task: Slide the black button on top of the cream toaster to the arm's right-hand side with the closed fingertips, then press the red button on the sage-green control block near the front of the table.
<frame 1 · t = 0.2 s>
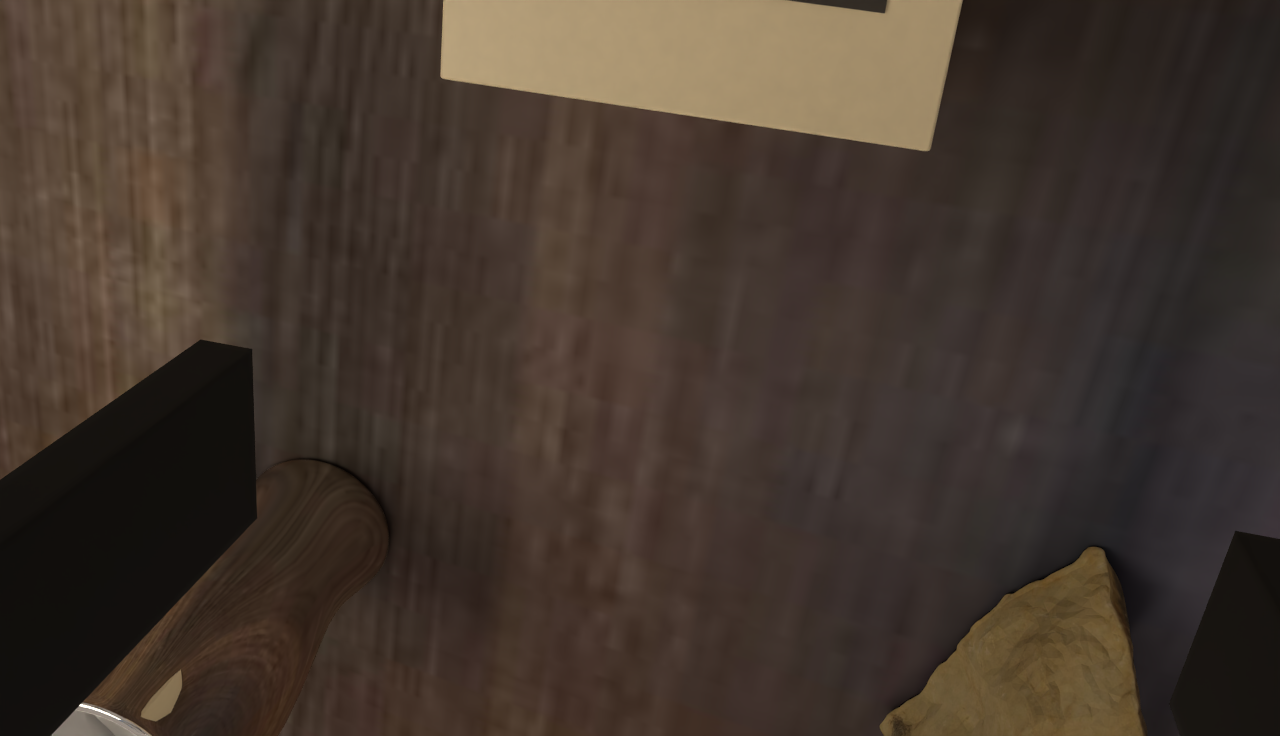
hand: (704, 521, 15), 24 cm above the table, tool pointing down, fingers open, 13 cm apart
beer glass: (321, 522, 47), on the table
rock: (997, 657, 43), on the table
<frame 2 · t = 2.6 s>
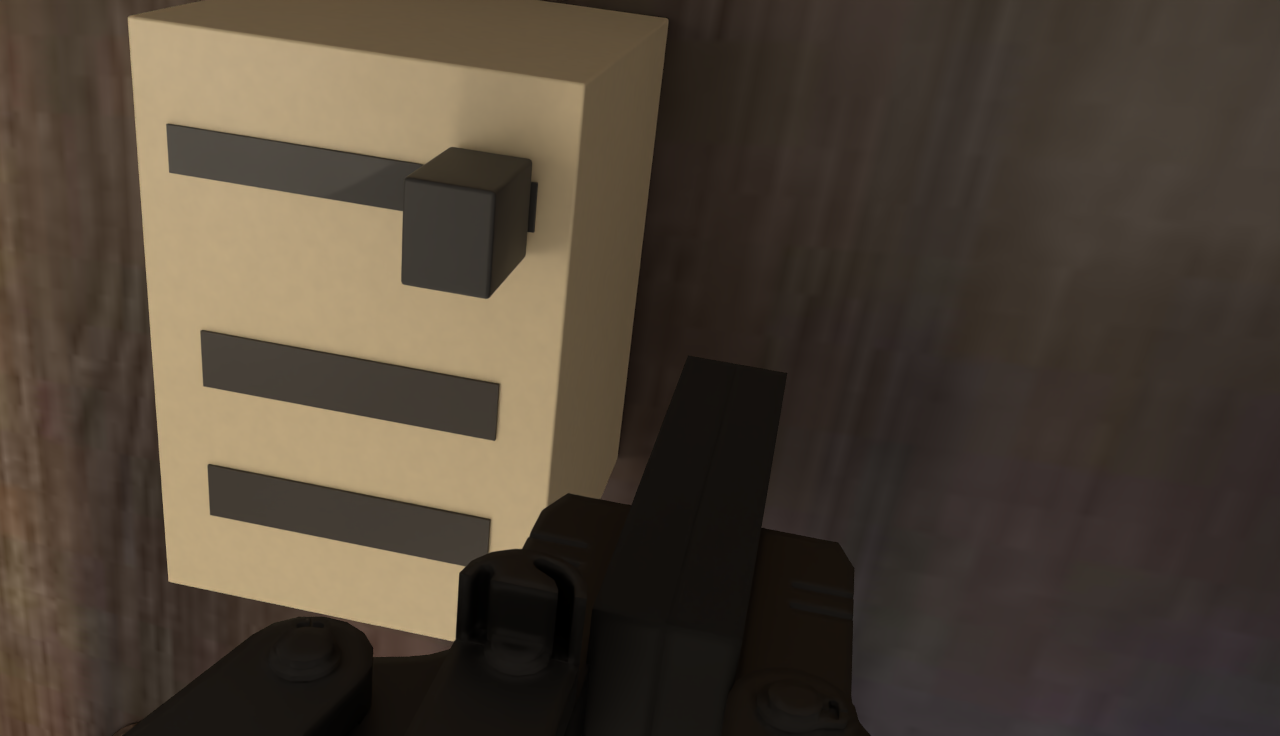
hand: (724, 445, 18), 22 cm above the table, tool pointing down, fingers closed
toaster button: (468, 220, 25), point 14 cm above the table, slide at 0.0 cm
toaster: (487, 231, 40), on the table
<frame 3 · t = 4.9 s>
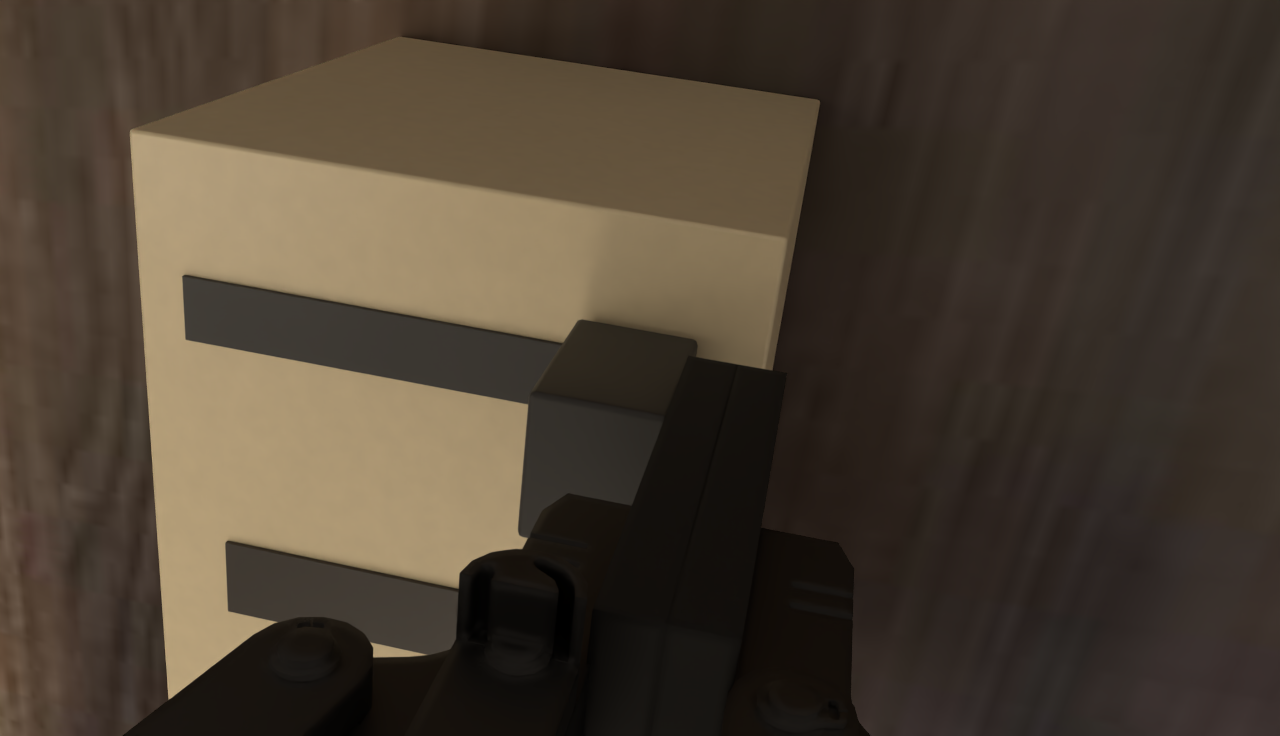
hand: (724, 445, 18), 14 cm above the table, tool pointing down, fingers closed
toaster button: (611, 433, 18), point 14 cm above the table, slide at 0.1 cm, touching gripper
toaster: (575, 354, 32), on the table
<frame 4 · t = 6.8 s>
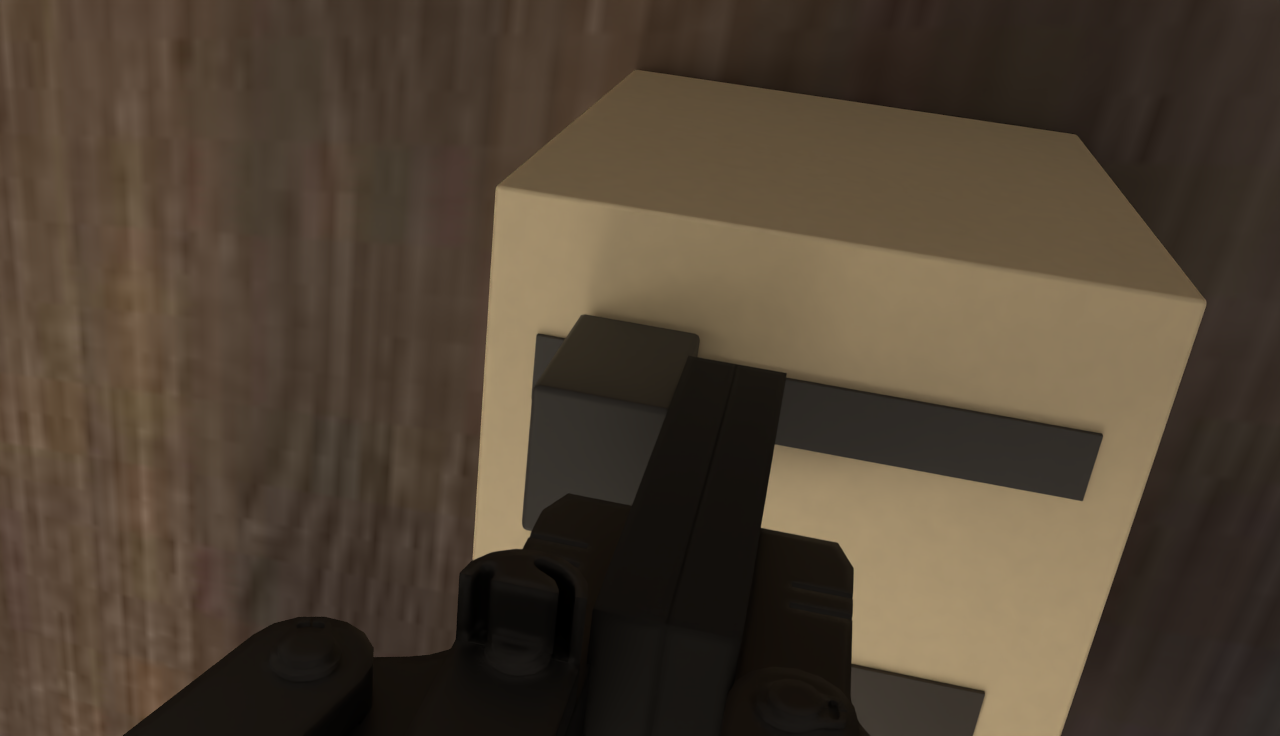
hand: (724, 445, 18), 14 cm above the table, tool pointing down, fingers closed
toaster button: (614, 427, 18), point 14 cm above the table, slide at 6.4 cm, touching gripper
toaster: (796, 390, 32), on the table
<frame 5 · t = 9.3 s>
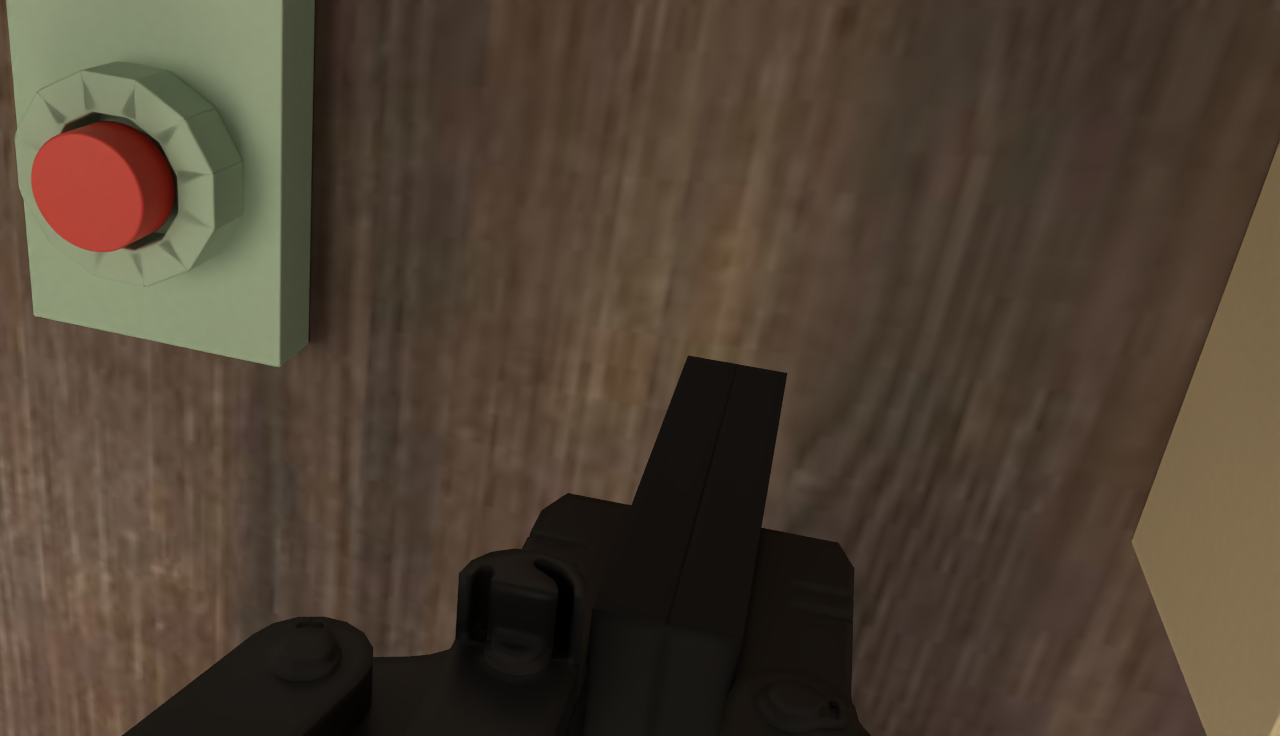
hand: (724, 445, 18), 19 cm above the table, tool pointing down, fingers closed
control block: (185, 154, 38), on the table
red button: (104, 186, 34), point 4 cm above the table, slide at 0.1 cm
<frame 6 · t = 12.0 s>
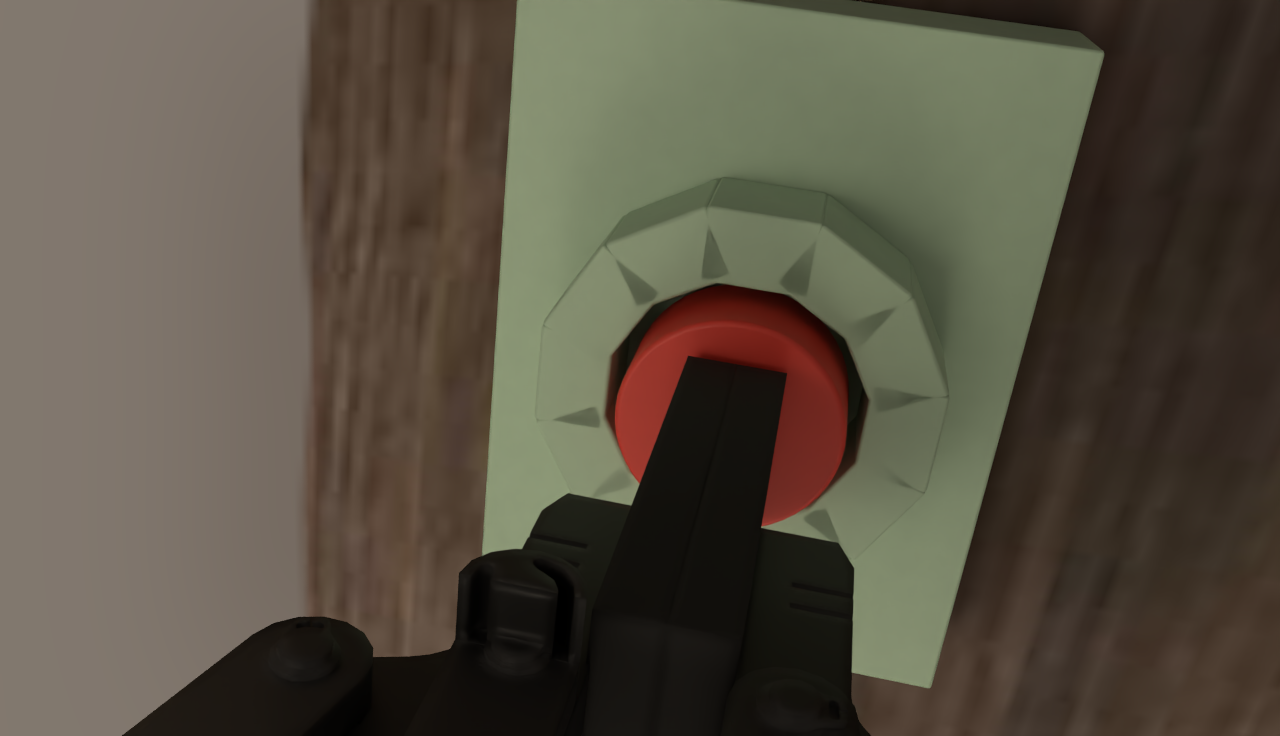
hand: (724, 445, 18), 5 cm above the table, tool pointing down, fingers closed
control block: (756, 319, 22), on the table
red button: (734, 406, 19), point 4 cm above the table, slide at -0.5 cm, touching gripper
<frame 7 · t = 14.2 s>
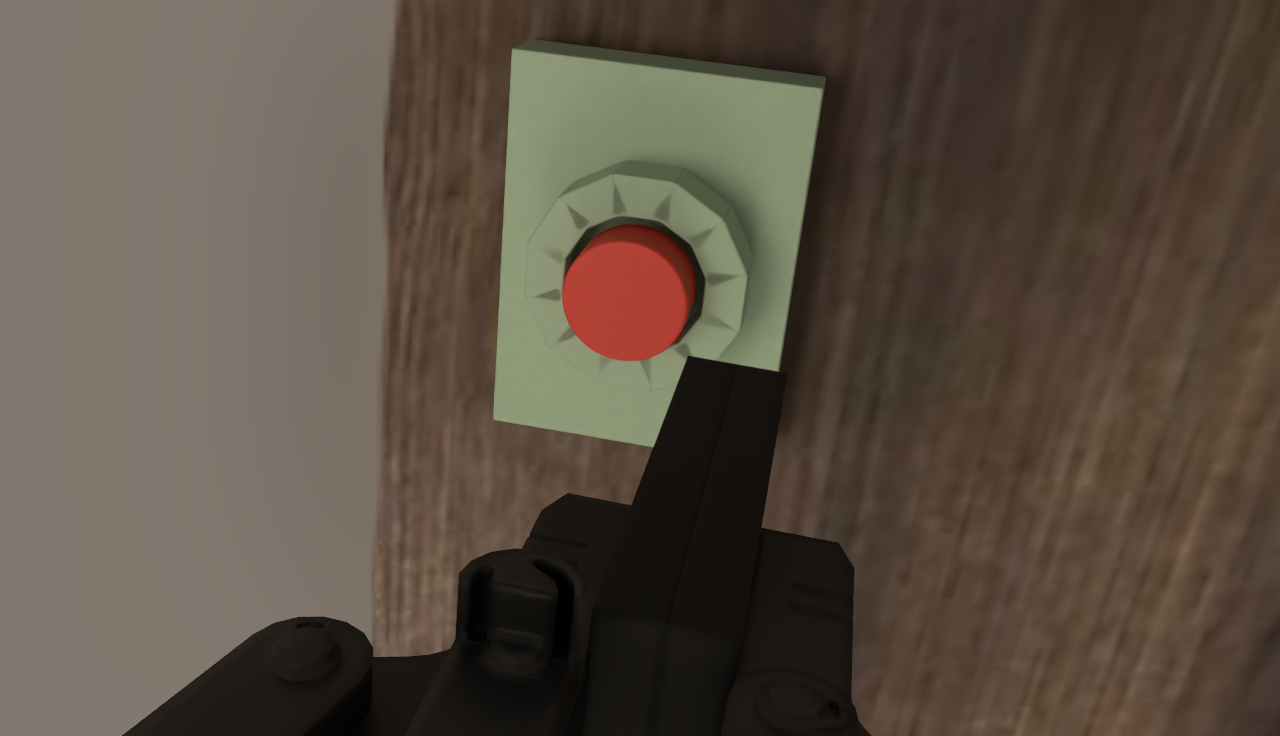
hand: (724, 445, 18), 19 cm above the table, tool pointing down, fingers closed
control block: (656, 247, 37), on the table
red button: (629, 292, 33), point 4 cm above the table, slide at 0.1 cm
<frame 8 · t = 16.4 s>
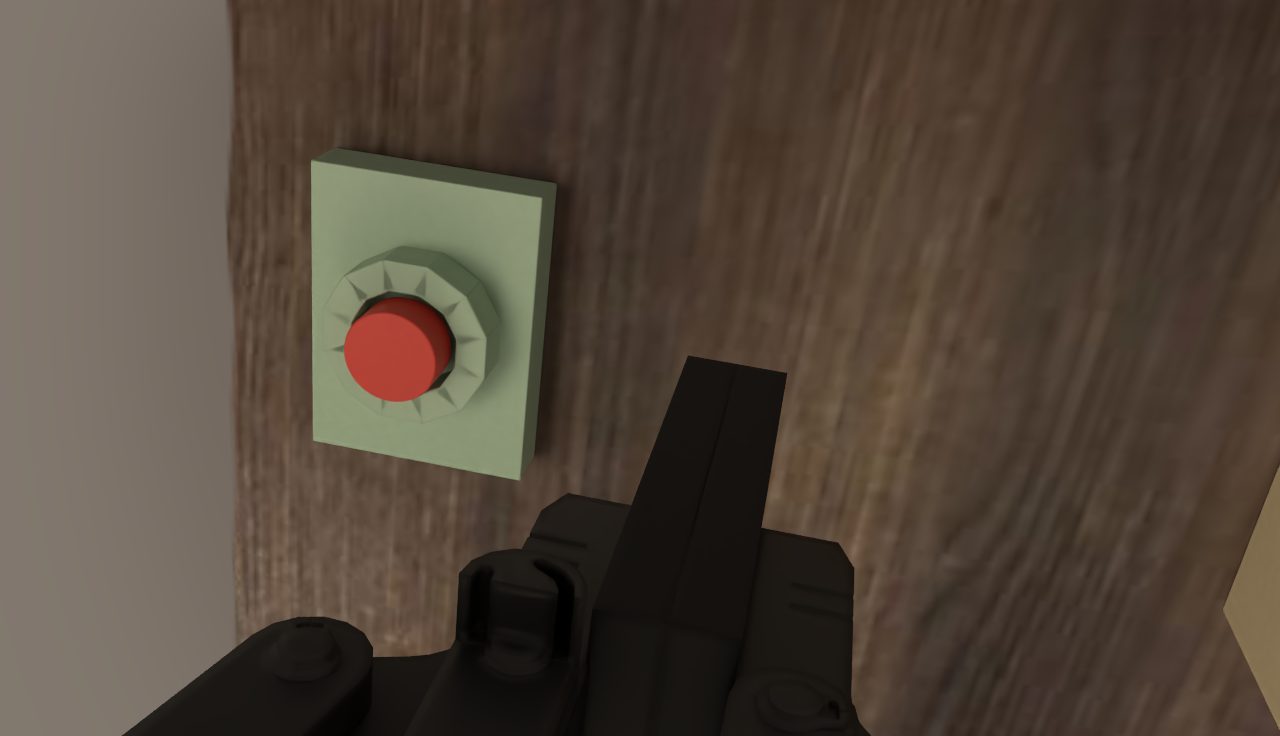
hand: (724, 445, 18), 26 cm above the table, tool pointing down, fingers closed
control block: (438, 308, 47), on the table
red button: (398, 349, 43), point 4 cm above the table, slide at 0.1 cm
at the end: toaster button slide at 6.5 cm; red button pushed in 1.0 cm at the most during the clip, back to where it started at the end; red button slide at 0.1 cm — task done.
